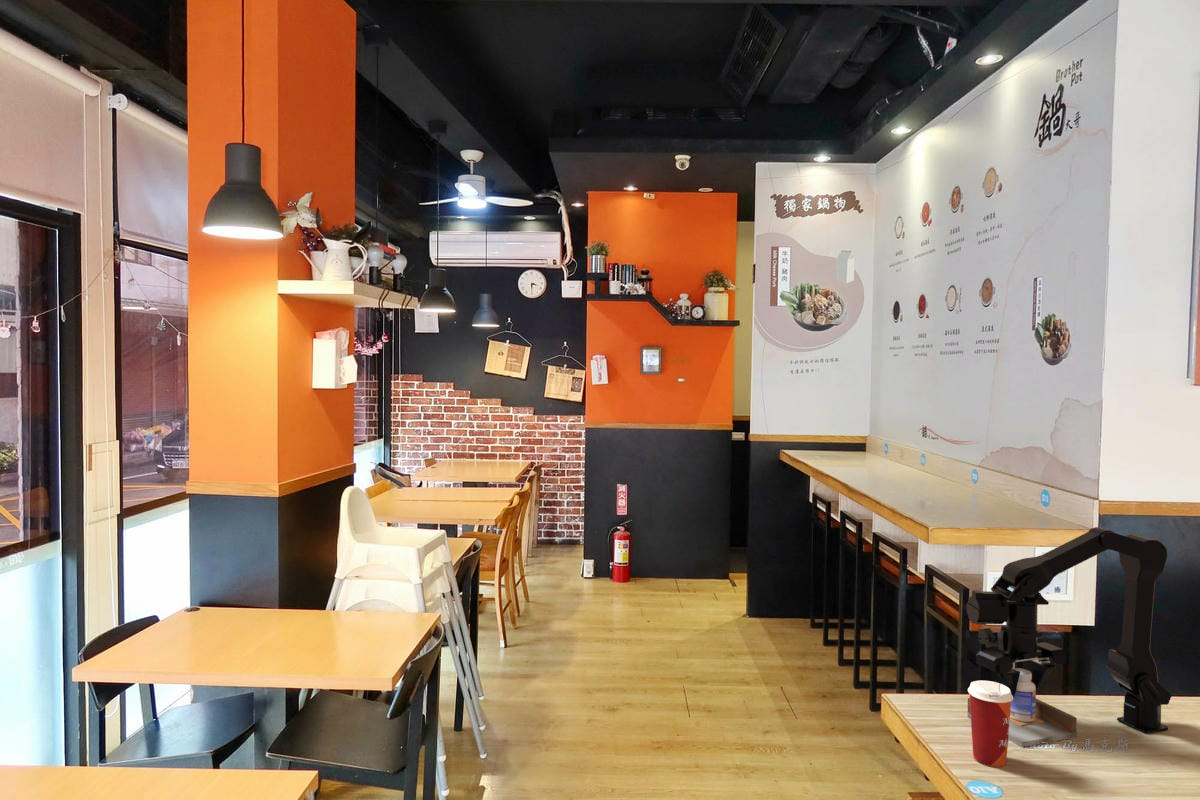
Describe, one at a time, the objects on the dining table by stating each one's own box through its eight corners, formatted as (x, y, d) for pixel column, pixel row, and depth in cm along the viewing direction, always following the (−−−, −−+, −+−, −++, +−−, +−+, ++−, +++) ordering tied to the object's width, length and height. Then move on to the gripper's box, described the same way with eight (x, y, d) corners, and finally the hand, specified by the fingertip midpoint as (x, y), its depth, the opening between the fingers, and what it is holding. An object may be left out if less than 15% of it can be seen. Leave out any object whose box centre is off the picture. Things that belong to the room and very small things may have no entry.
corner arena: (1019, 708, 164) (1019, 690, 164) (1076, 737, 150) (1076, 717, 150) (967, 716, 160) (967, 698, 160) (1021, 747, 146) (1022, 727, 146)
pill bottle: (1038, 724, 154) (1039, 677, 153) (1009, 720, 155) (1010, 674, 155) (1031, 713, 159) (1032, 667, 159) (1003, 709, 160) (1003, 665, 160)
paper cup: (1018, 772, 137) (1019, 697, 137) (973, 768, 138) (974, 693, 138) (1004, 751, 145) (1005, 680, 144) (961, 747, 146) (962, 677, 146)
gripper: (1024, 608, 167) (1023, 677, 167) (956, 616, 161) (956, 687, 162) (1068, 624, 156) (1068, 697, 157) (998, 633, 151) (997, 709, 151)
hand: (1021, 697), depth 157 cm, fingers closed on pill bottle, 5 cm apart
